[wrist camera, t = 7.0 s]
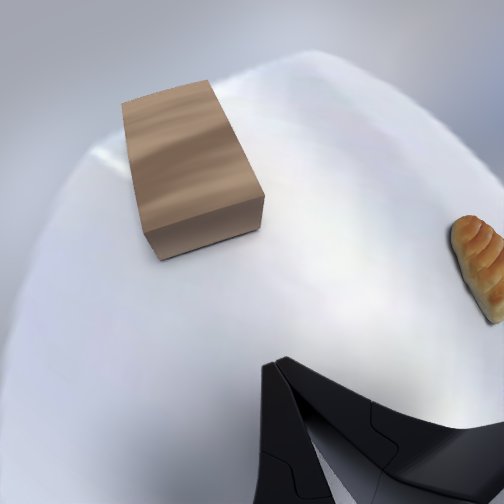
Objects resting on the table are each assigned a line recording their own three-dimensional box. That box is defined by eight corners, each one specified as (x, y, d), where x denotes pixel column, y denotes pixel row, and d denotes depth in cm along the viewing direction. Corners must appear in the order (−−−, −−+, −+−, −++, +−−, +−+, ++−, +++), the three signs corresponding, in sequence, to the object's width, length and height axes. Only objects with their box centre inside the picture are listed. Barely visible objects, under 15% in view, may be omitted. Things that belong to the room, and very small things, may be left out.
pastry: (430, 246, 22) (456, 224, 18) (464, 210, 23) (486, 188, 20) (490, 333, 19) (521, 322, 15) (516, 286, 21) (543, 272, 17)
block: (264, 195, 17) (207, 79, 21) (143, 233, 16) (121, 103, 20) (260, 228, 21) (210, 115, 25) (159, 260, 20) (132, 137, 24)
